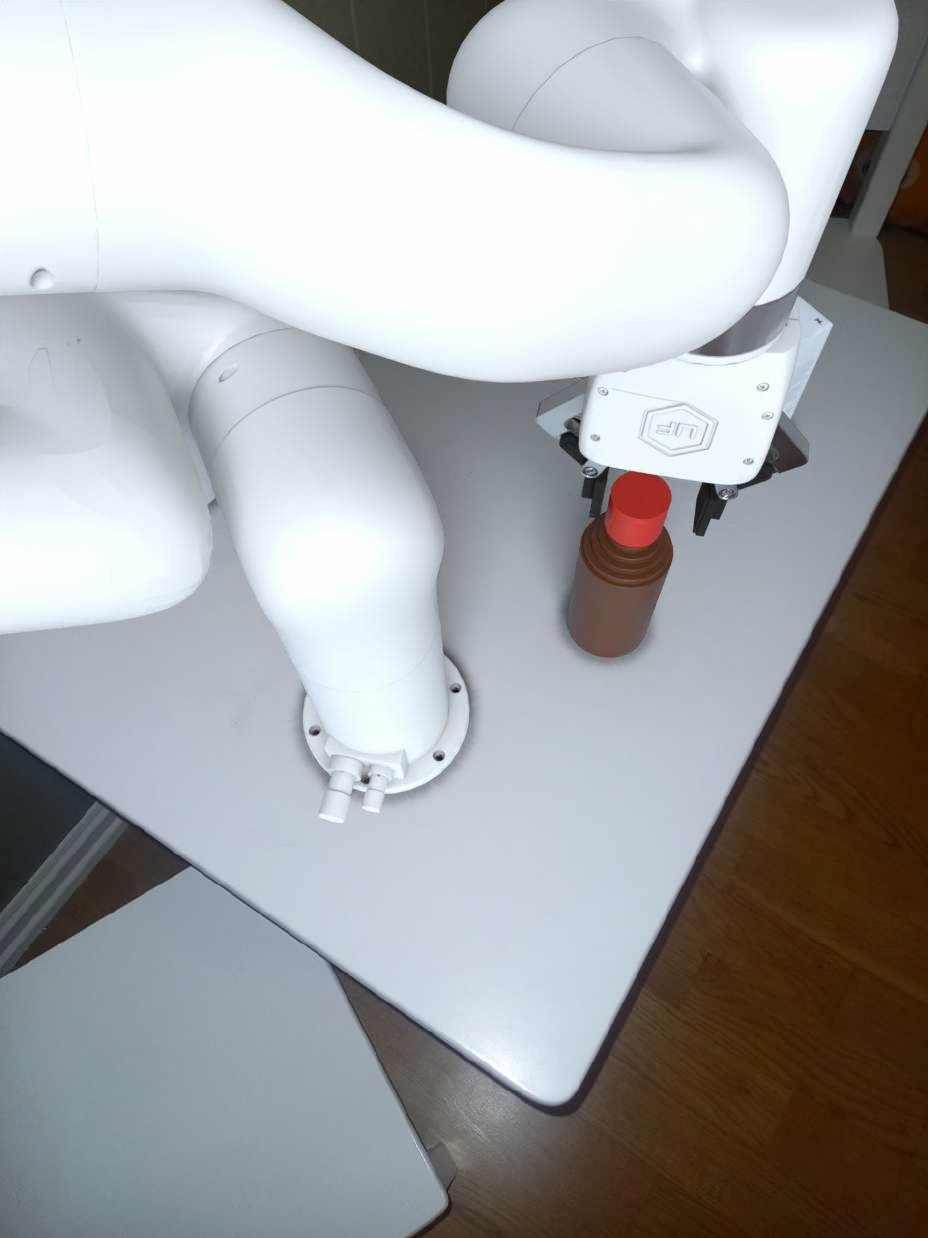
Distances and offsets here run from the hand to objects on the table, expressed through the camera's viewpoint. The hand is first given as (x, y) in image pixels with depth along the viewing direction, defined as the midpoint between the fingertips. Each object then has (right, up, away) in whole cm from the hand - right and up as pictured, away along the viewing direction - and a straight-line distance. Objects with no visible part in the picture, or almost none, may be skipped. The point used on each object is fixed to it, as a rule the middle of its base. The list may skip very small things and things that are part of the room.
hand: (648, 507), depth 55 cm
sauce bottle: (0, -7, +13) cm, 15 cm away
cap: (-1, -1, +1) cm, 1 cm away
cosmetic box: (+14, +10, +22) cm, 28 cm away
